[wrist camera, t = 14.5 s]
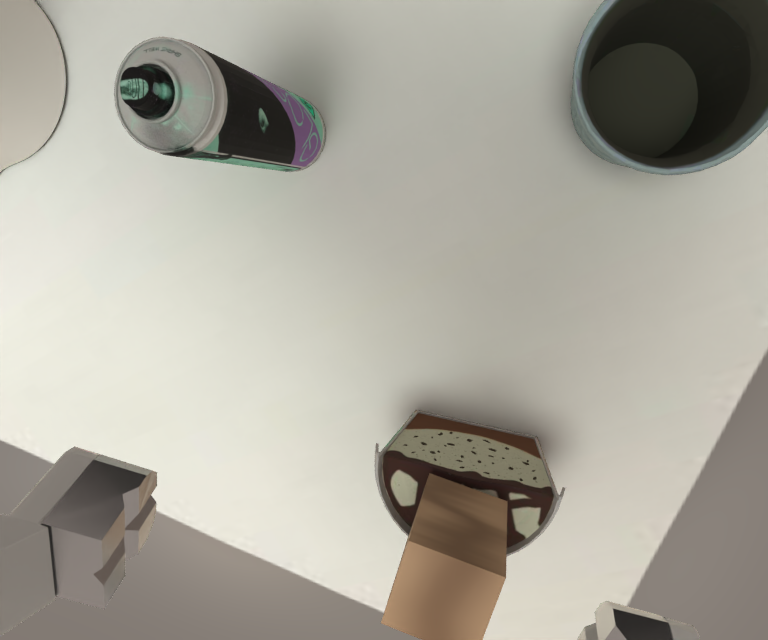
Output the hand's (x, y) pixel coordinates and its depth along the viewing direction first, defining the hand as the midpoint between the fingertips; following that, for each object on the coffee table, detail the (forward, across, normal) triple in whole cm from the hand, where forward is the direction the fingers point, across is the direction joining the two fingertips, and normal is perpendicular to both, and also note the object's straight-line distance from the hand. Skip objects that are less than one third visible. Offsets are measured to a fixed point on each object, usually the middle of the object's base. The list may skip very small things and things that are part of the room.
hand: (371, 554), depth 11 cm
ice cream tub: (+30, -7, +24) cm, 39 cm away
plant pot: (+38, -11, -3) cm, 40 cm away
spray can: (+38, +12, +5) cm, 41 cm away
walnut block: (+20, -6, +20) cm, 29 cm away
